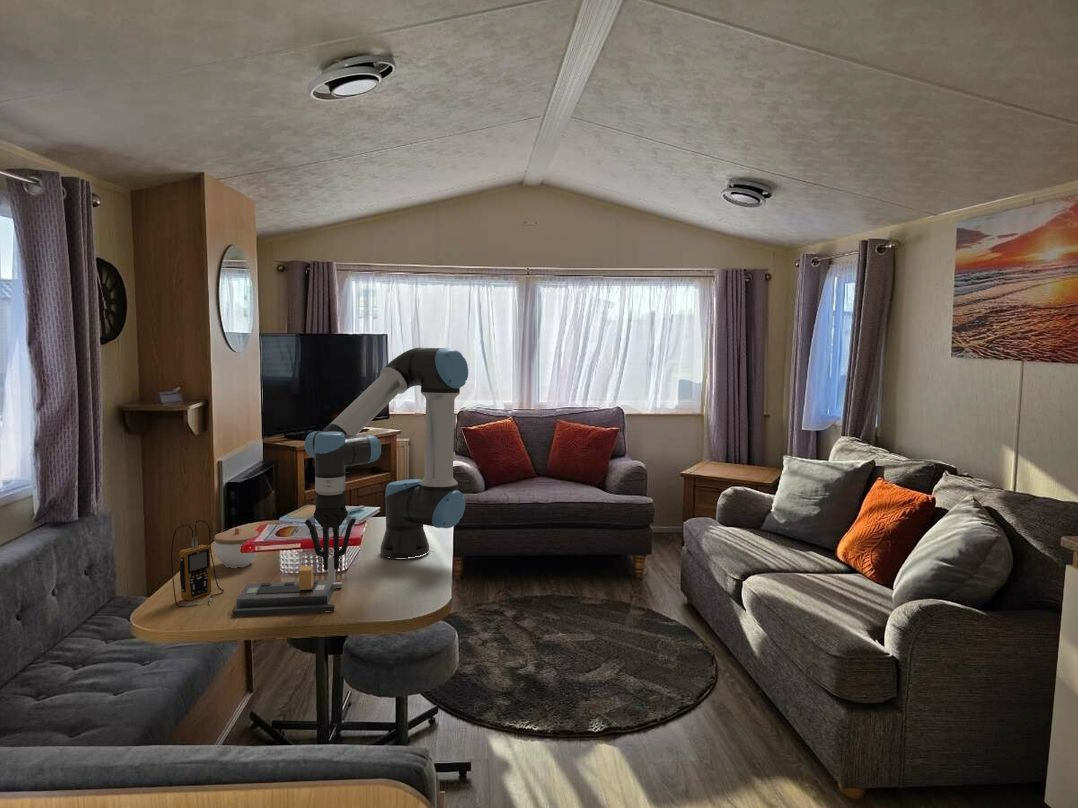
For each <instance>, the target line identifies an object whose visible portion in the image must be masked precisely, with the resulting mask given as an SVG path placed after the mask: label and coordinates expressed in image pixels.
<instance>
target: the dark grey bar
mask: <svg viewBox="0 0 1078 808" xmlns="http://www.w3.org/2000/svg"><path fill="white" fill-rule="evenodd" d="M335 608H336V607H335V604H328V605H315V606H292V607H268V608H245V609H237V608H234V609H233V610H232V617H252V616H253V617H255V616H275V615H277V616H279V615H299V614H301V613H302V614H316V613H315V612H325V611H334V612H335V610H334V609H335ZM325 613H326V612H325Z"/></svg>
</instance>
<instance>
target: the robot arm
mask: <svg viewBox="0 0 1078 808" xmlns="http://www.w3.org/2000/svg"><path fill="white" fill-rule="evenodd" d="M468 379H469V367H468V363H467V360H466V358H465V357H464V356H463V354H462V353H461V352H460V351H459V350H457V349H453V348H448V347H413V348H411V349H408V350H406V351H404V352H402V353H400V354H399V355H398V356H396V357H394V358H393V359H391V361H389V362H388V363H387V364H386V365H385V366H384V367H383V368H382V369H381V370H380V373H379V376H378V377H377V379H376V380H374V381H373V382H372V383H370V385H369V386H368V387H366V389H365V390H364V391H362V393H361V394H360V395H359V396H358V397H357V398H356V399H354V400H353V401H352V402H351V403H350V404H348V406H347V407H346V408H345V409H344V410H343V411H342V412H341V413H340V414H339V415H338V416H337V417H335V419H333V420H332V421H331V422H330V423H329V424H328V425H327V426H326V427H325V428H323V430H321V431H320V430H317V431H312V432H310V433H308V434H307V436H306V438H305V439H304V445H303V446H304V450H305V453H306V454H307V455H308V456H309V457H310V458H314V479H315V480H314V484H315V485H314V486H315V487H314V488H315V489H314V491H315V492H316V493H315V495H314V496H315V497H314V498H315V500H314V501H315V504H314V505H315V511H314V512H313V515H312V516H311V517H307V518H306V519H305V521H304V524H305V525H306V527H307V528H308V530H309V534H310V538H311V541H312V545H313V547H314V548H313V549H314V552H315V555H316V556H317V557H322V559H323V570H324V571H327V581H328V583H334V582H336V570H339V568H340V557H342V556H345V555H346V553H347V550H348V546H349V541H350V537H351V532H352V529H353V527H354V525H355V524H356V522H357V517H356V516H351V515H350V514H349V513H348V512H349V511H348V510H347V507H346V505H347V503H346V499H347V498H346V496H347V495H346V492H345V490H346V467H347V468H348V467H351V466H352V467H353V466H357V465H363V464H364V465H366V464H367V465H368V464H370V463H372V462H373V463H374V462H376V461H377V460H378V459H379V458H380V457H381V454H382V445H381V442H380V440H379V439H378V437H377V436H375V435H373V434H363V435H358V434H359V433H361V431H362V430H364V429H365V427H366V426H367V425H369V424H370V422H372V421H373V419H374V418H376V417H377V415H378V414H380V413H381V412H382V411H383V409H384V408H386V407H387V406H388V405H389V404H390V403H391V401H392V400H393V399H395V398H396V396H397V395H398V394H399V395H401V394H404V393H406V391H407V390H409V389H410V388H412V387H416V386H420V393H421V394H422V395H423V397H424V398H425V421H424V422H425V427H424V428H425V429H424V430H425V431H424V434H425V435H424V476H423V478H422V479H421V478H412V479H411V478H409V479H403V480H397V481H396V480H395V481H391V482H389V483H388V484H387V485H386V487H385V494H384V495H385V496H384V500H385V501H384V503H385V505H384V506H385V531H384V534H383V538H382V541H381V543H380V544H381V545H380V555H381V556H382V555H383V556H384V557H383V556H382V557H383V558H385V557H390V558H408V557H415V556H420V555H423V554H425V553H427V552H428V551H429V552H430V544H429V541H428V538H427V535H426V532H425V529H424V525H425V526H428V527H434V528H437V529H451V528H454V527H455V526H456V525H457V524H458V523H459V522H460V520H462V518H463V516H464V513H465V510H466V498H465V496H464V494H463V493H462V492H461V491H460V490H458V489H459V485H458V484H459V483H458V481H457V480H456V479H455V478H454V441H455V439H454V438H455V437H454V436H455V433H454V432H455V429H454V428H455V399H456V398H457V397H458V396H459V395H460V392H461V391H460V390H461V388H462V387H464V386H465V385H466V384H467V381H468ZM345 520H346V521H345ZM316 521H317V523H318V524H319V526H320V527H321V528H322V545H321V542H320V538H319V535H318V531H317V528H316V527H317V526H316ZM344 521H345V523H346V529H345V532H344V537H343V541H342V545H341V548H340V526H341V525H342V524H343V523H344ZM330 529H332V535H333V536H332V538H333V541H332V544H333V546H332V547H333V555H330Z"/></svg>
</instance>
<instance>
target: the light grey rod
mask: <svg viewBox="0 0 1078 808" xmlns="http://www.w3.org/2000/svg"><path fill="white" fill-rule="evenodd" d="M336 588H342V589H343V582H341V581H340V582H339V581H338V582H337V581H335V582H334V583H333V590H337V589H336Z"/></svg>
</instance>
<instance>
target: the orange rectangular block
mask: <svg viewBox="0 0 1078 808" xmlns="http://www.w3.org/2000/svg"><path fill="white" fill-rule="evenodd" d="M298 579H299V580H298V582H299V590H305V589H312V587H313V585H314V581H315V580H314V579H315V578H314V565H301V566H300V568H299V569H298Z"/></svg>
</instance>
